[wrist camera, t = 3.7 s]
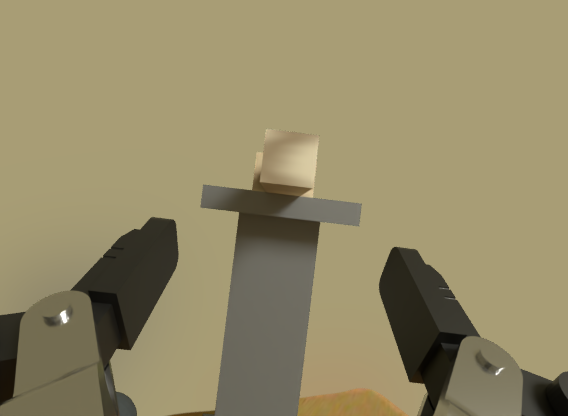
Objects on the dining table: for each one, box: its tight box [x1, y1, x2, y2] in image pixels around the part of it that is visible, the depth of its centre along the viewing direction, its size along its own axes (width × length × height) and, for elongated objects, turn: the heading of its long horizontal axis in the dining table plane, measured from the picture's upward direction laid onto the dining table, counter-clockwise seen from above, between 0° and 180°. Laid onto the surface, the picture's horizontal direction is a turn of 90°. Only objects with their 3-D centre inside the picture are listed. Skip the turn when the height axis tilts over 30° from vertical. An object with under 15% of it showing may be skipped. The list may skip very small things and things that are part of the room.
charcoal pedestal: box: [201, 185, 362, 416], centre depth 32 cm, size 14×14×32 cm
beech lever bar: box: [252, 129, 319, 198], centre depth 26 cm, size 6×21×4 cm, turn 1°
